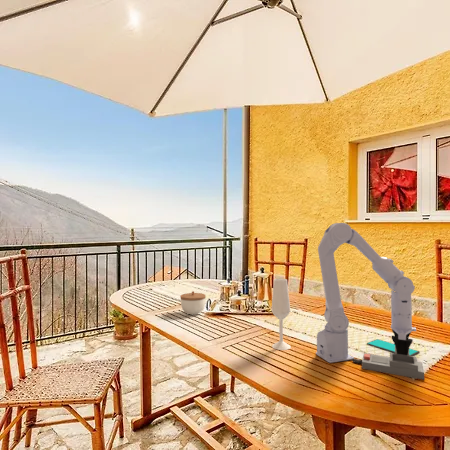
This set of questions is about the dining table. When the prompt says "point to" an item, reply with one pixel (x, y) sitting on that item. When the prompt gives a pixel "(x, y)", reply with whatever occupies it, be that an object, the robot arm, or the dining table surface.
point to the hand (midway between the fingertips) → (402, 355)
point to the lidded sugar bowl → (193, 302)
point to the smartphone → (389, 346)
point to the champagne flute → (280, 308)
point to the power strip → (393, 364)
